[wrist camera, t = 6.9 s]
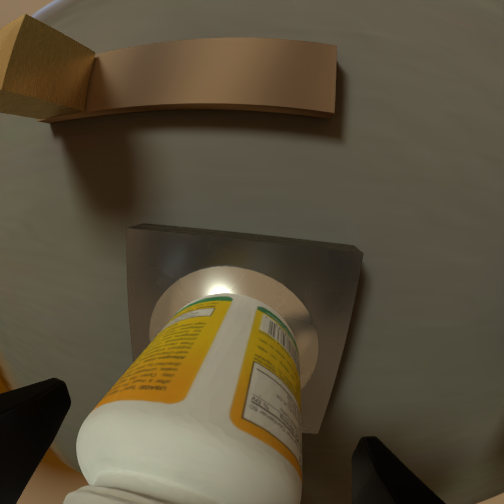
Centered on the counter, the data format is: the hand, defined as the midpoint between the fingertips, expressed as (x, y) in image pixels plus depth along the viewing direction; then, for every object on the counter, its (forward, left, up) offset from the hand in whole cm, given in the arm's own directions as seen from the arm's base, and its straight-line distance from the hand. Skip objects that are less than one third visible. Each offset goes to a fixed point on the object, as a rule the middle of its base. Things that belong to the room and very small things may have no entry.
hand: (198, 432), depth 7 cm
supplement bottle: (0, 0, -5) cm, 5 cm away
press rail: (+4, -11, -6) cm, 13 cm away
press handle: (+9, -11, -5) cm, 15 cm away
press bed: (0, 0, -6) cm, 6 cm away
